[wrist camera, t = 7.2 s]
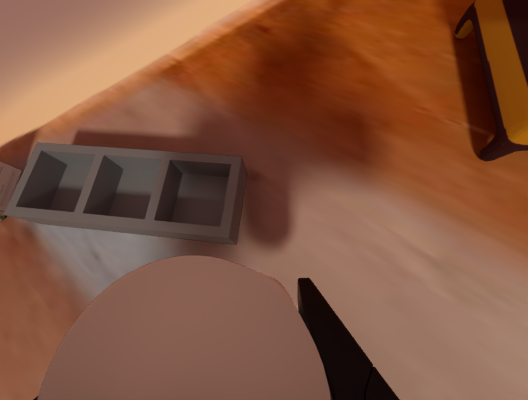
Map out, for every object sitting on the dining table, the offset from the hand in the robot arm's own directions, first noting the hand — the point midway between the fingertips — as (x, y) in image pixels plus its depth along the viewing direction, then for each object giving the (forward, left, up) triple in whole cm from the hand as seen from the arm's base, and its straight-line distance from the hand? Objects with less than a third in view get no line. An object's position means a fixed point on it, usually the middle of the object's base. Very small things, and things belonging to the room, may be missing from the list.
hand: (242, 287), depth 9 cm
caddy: (-13, +7, -13) cm, 19 cm away
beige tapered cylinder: (0, -1, -7) cm, 7 cm away
